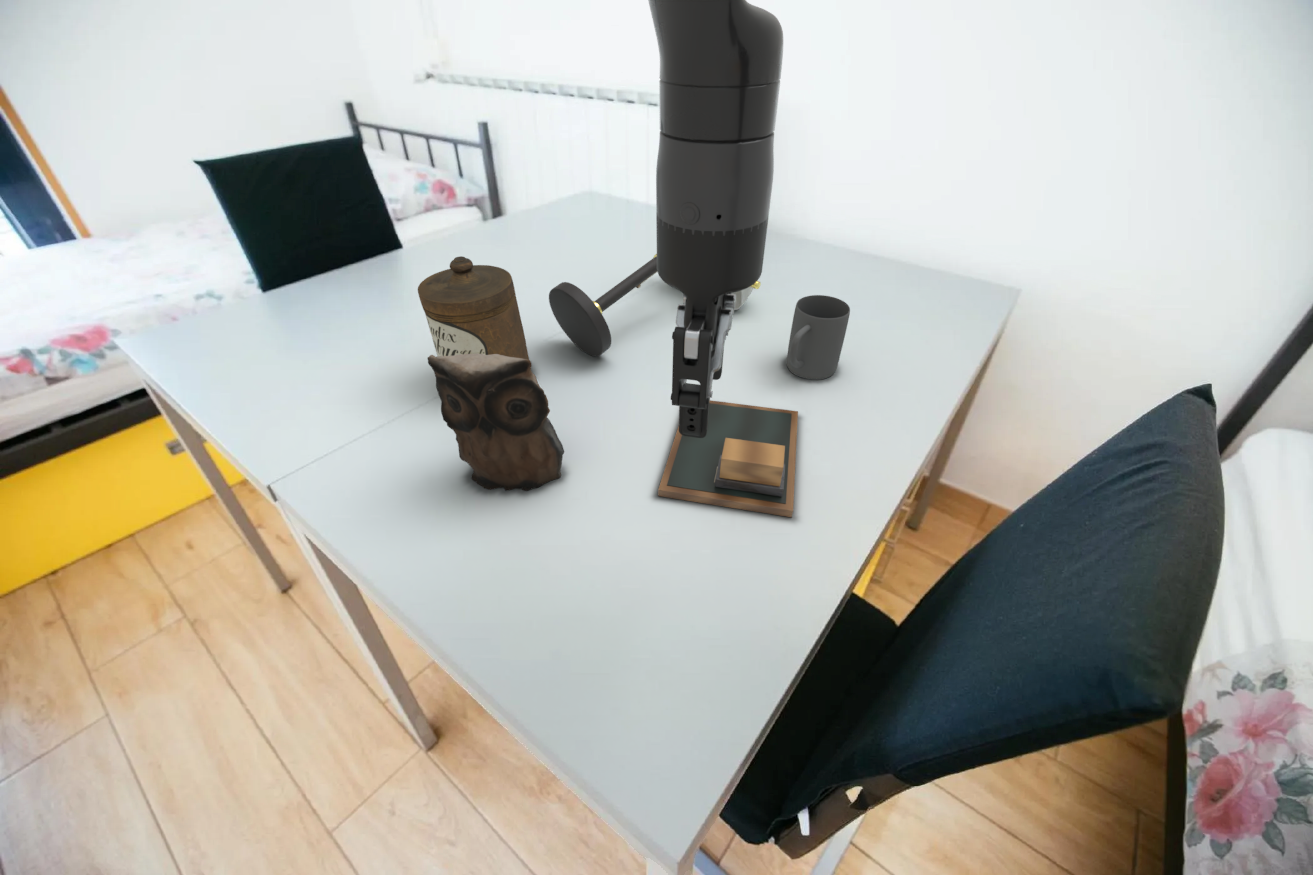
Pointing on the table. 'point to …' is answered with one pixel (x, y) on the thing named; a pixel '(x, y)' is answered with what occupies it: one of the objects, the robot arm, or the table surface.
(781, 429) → the board
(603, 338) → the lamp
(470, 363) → the owl
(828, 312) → the mug
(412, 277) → the table surface
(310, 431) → the table surface
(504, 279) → the wooden container
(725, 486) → the eraser
